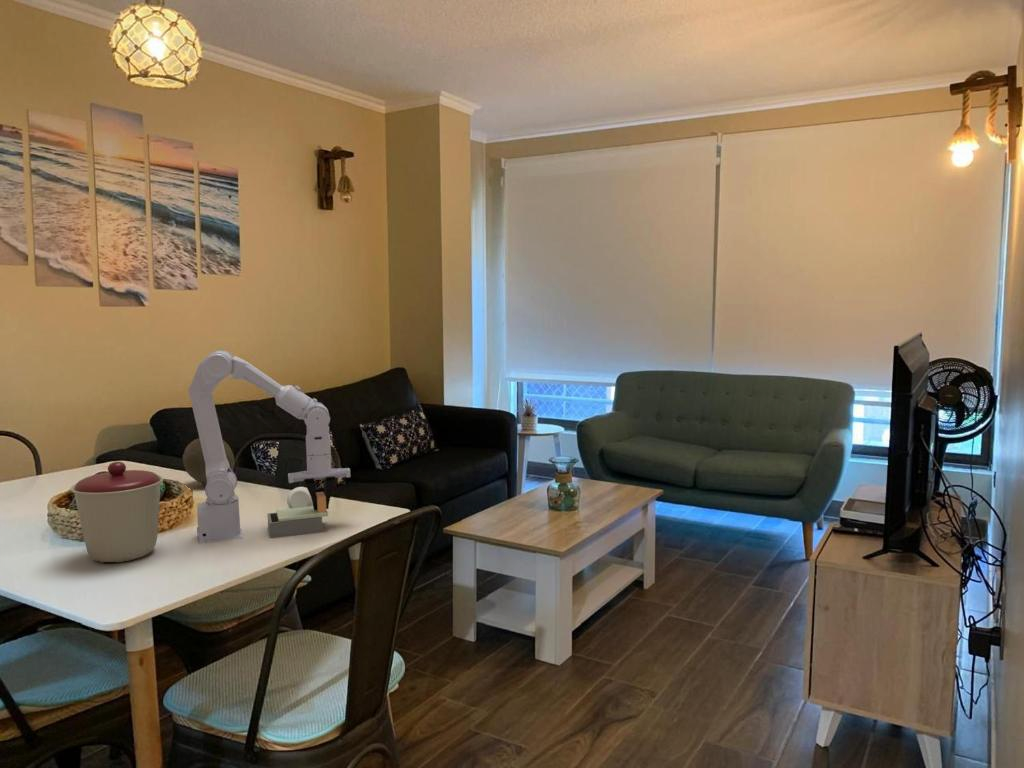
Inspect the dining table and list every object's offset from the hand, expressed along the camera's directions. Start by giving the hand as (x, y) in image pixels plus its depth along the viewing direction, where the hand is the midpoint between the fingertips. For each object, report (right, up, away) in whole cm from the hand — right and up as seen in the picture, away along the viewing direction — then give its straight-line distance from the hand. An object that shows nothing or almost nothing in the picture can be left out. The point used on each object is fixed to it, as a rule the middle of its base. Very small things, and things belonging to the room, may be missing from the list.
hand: (321, 508), depth 187 cm
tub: (-6, -5, -2) cm, 8 cm away
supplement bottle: (-8, 0, +16) cm, 18 cm away
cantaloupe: (-45, -1, +46) cm, 65 cm away
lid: (-4, -1, -1) cm, 5 cm away
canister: (-39, -8, -17) cm, 44 cm away
